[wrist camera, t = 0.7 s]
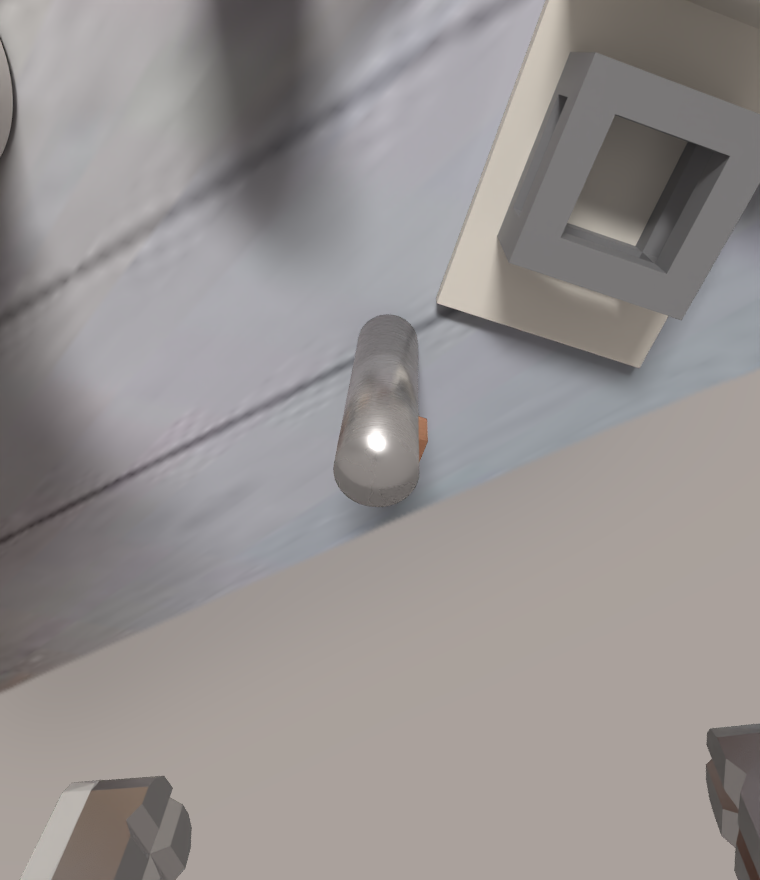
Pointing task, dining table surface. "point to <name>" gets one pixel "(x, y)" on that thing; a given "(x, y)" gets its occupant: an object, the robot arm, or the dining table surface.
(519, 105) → the stand
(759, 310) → the dining table surface
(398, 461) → the tube
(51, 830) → the robot arm
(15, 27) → the dining table surface
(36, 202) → the dining table surface
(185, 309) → the dining table surface
